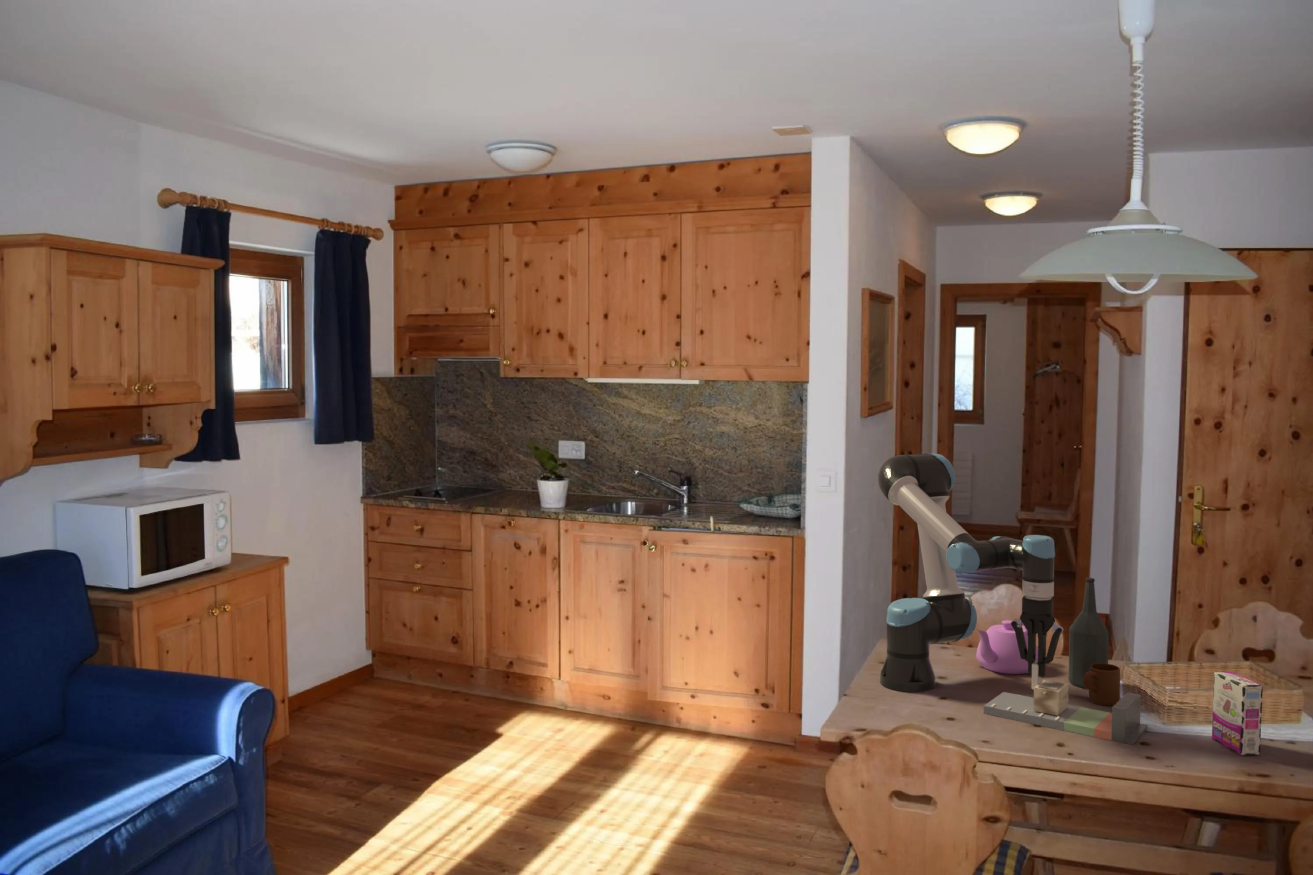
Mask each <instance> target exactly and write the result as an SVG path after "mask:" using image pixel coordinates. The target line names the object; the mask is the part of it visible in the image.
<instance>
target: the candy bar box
mask: <svg viewBox="0 0 1313 875" xmlns="http://www.w3.org/2000/svg"><path fill="white" fill-rule="evenodd" d="M1263 688H1264V685H1262V684H1260V683H1259V682H1256V681H1253V680H1251V679H1249V678H1247V677H1244V676H1243V675H1240V674H1238V673H1235V672H1233V671H1217V672H1215V671H1214V672H1213V693H1212V694H1213V697H1212V698H1213V699H1212V720H1211V721H1212V722H1211V724H1212V725H1211V728H1212V729H1211V739H1212V740H1213V741H1215V742H1217V743H1218V744H1220V745H1222V746H1223V747H1225V748H1227V749H1228V750H1231V751H1233V752H1234V753H1236V754H1238V755H1240V756H1260V755H1261V742H1262V741H1261V739H1262V738H1261V736H1262V734H1261V733H1262V716H1263V714H1262V713H1263V711H1262V710H1263V691H1264V690H1263Z"/></svg>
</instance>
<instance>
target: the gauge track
mask: <svg viewBox="0 0 1313 875" xmlns="http://www.w3.org/2000/svg"><path fill="white" fill-rule="evenodd" d="M983 714H984V715H989V716H994V717H998V718H1003V719H1009V720H1013V721H1018V722H1022V723H1028V724H1032V725H1037V726H1040V727H1041V726H1042V727H1047V728H1051V729H1056V730H1061V731H1064V732H1070V733H1074V734H1075V733H1076V734H1079V735H1085V736H1089V737H1094V738H1099V739H1103V740H1109V741H1112V740H1111V736H1112V712H1109V711H1103V710H1099V709H1093V708H1088V707H1082V706H1078V705H1077V706H1076V705H1073V704H1072V705H1071V704H1068V708H1066V709H1065V710H1064V711H1063V712H1062V713H1061V714H1059V715H1058V716H1057V715H1052V714H1047V713H1042V712H1037V711H1034V697H1031V696H1026V695H1023V694H1022V695H1021V694H1015V693H1010V692H1006V691H1003V692H1001V693H1000V694H999V695H997V696H996V697H994V698H992V699H991V700H990V701H989V702H987V703H985V704H984V705H983Z"/></svg>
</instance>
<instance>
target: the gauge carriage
mask: <svg viewBox="0 0 1313 875" xmlns="http://www.w3.org/2000/svg"><path fill="white" fill-rule="evenodd" d="M1033 698H1034V711H1037V712H1042V713H1047V714H1052V715H1057V716H1058V715H1059V714H1061V713H1062V712H1063V711H1064V710H1065V709H1066V708H1068V705H1069V683H1065V682H1059V681H1054V680H1048V679H1043V680H1041V683H1039V684H1038V685H1037V686H1035V687H1034V689H1033Z"/></svg>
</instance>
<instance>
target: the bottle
mask: <svg viewBox="0 0 1313 875" xmlns="http://www.w3.org/2000/svg"><path fill="white" fill-rule="evenodd" d="M1095 580H1096V579H1095V578H1094V577H1086V578H1085V587H1084V596H1083V600H1082V601H1083V604H1082V610H1081V611H1080V612H1079V614H1078V615H1077V617H1076V618H1075V619H1074V621H1073V622H1072V624H1071V625H1070V626H1069V637H1068V638H1069V640H1068V644H1069V645H1068V682H1069V683H1070V685H1072V686H1074V687H1077V688H1081V689H1086V688H1085V687H1084V684H1083V677H1084V675H1085V673H1087V672H1089V669H1090V665H1091V664H1095V663H1105V664H1109V642H1110V641H1109V640H1110V639H1109V638H1110V637H1109V630H1108V629H1107V627H1106V624H1105V623H1104V621H1103V619H1102V618H1101V617H1100V615H1099V614H1098V612H1097V600H1096V591H1095V590H1096V589H1095ZM1086 690H1087V689H1086Z"/></svg>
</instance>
